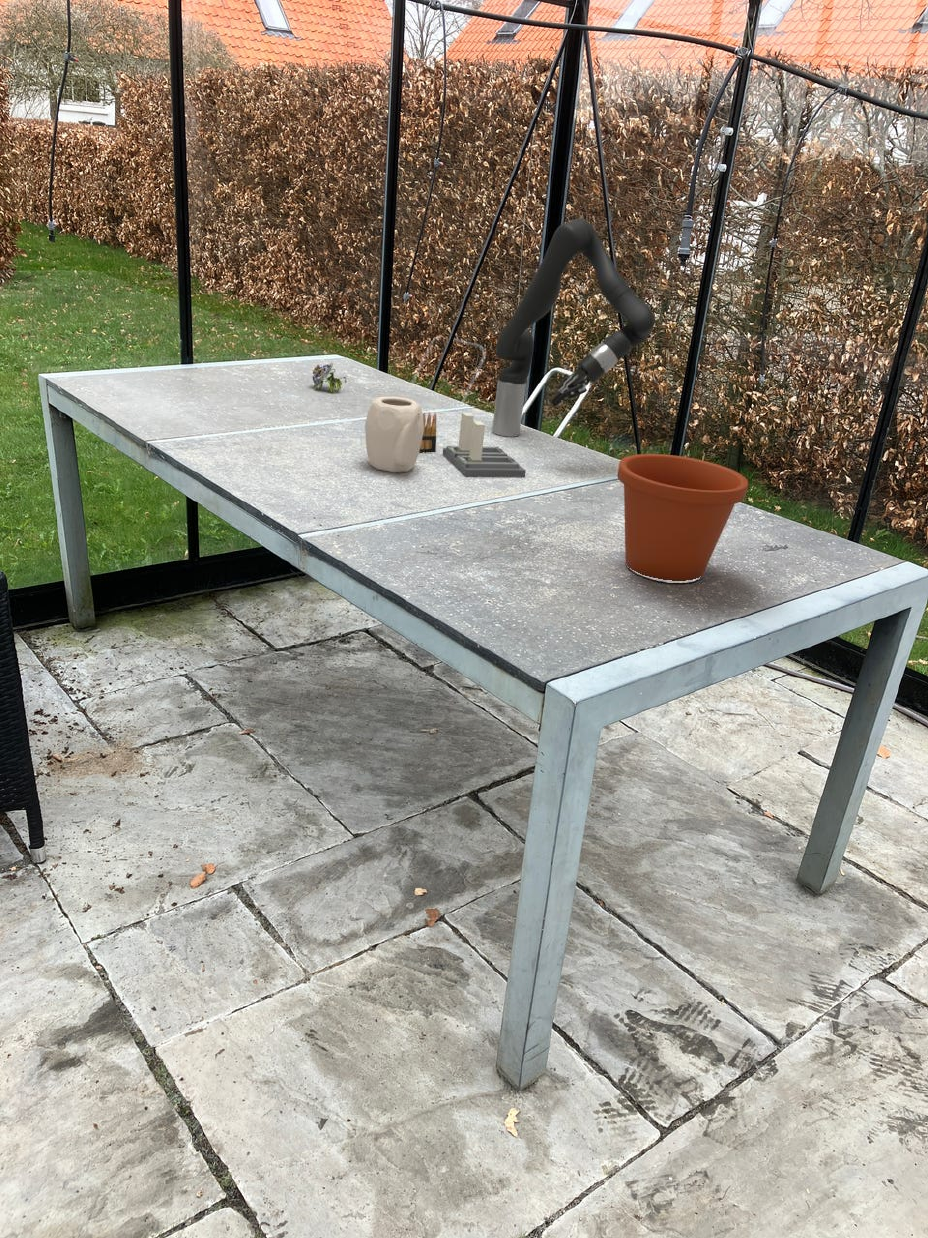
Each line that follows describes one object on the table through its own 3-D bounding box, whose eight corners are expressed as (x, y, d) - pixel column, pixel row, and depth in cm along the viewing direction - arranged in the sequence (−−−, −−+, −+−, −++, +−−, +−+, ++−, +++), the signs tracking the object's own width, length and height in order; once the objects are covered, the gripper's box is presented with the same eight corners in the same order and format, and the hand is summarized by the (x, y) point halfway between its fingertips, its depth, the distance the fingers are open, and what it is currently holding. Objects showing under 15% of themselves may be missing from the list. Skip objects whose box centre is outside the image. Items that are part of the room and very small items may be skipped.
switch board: (442, 454, 291) (443, 443, 290) (498, 455, 297) (499, 444, 295) (465, 476, 272) (466, 464, 271) (524, 477, 278) (526, 465, 277)
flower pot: (577, 561, 221) (593, 462, 212) (648, 539, 240) (666, 448, 230) (680, 605, 204) (703, 499, 194) (748, 578, 223) (772, 481, 213)
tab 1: (456, 450, 288) (460, 412, 283) (466, 450, 289) (470, 412, 284) (460, 454, 284) (465, 415, 279) (470, 454, 285) (474, 415, 280)
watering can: (388, 484, 258) (393, 414, 250) (349, 456, 279) (353, 390, 271) (440, 481, 265) (446, 413, 258) (398, 454, 286) (403, 390, 278)
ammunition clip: (403, 453, 287) (406, 413, 282) (400, 451, 289) (403, 411, 284) (435, 452, 292) (439, 413, 287) (433, 450, 294) (436, 411, 289)
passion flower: (316, 404, 355) (303, 373, 355) (342, 397, 360) (329, 367, 360) (326, 393, 345) (313, 361, 345) (353, 386, 350) (340, 355, 350)
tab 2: (467, 460, 279) (471, 421, 274) (477, 460, 280) (481, 421, 275) (471, 464, 276) (476, 424, 271) (481, 464, 277) (486, 424, 272)
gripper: (581, 348, 281) (536, 388, 282) (600, 358, 270) (553, 400, 271) (594, 367, 285) (550, 407, 286) (614, 378, 274) (567, 419, 275)
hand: (551, 403), depth 279 cm, fingers closed
